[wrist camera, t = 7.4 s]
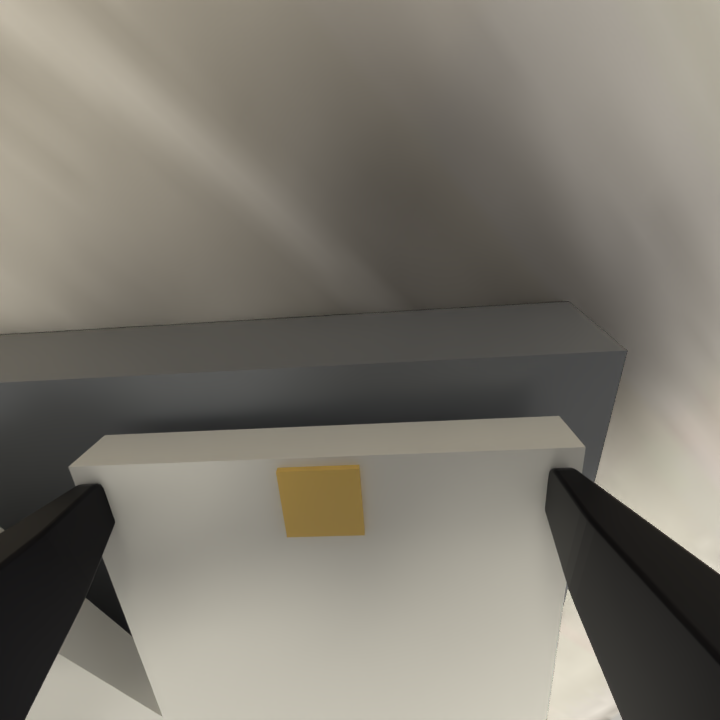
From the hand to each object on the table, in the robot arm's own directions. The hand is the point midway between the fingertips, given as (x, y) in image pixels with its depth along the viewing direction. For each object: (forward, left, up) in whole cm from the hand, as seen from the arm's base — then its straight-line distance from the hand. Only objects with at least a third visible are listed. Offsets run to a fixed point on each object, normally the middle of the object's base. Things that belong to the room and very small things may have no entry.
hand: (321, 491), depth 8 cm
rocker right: (-5, 0, 0) cm, 5 cm away
